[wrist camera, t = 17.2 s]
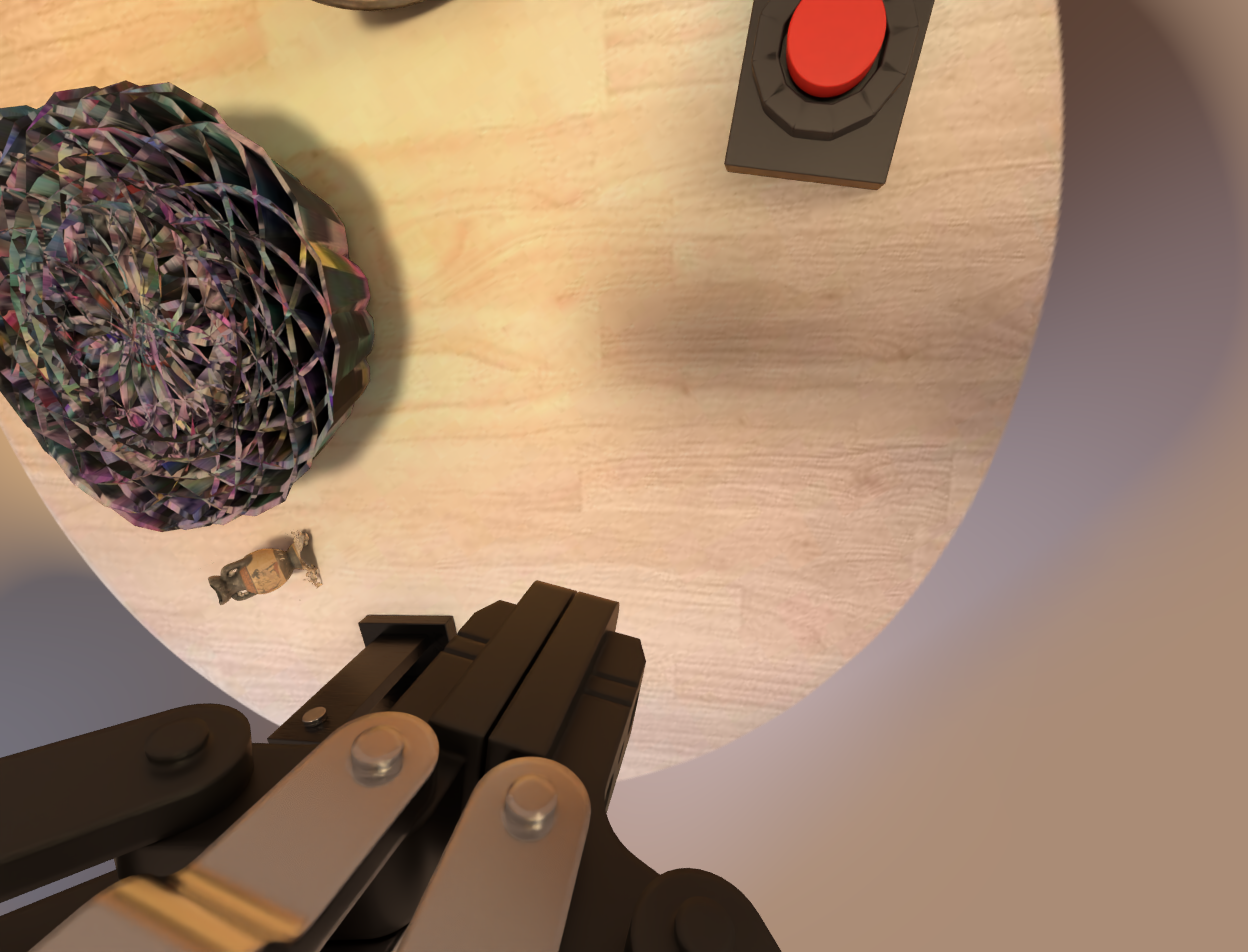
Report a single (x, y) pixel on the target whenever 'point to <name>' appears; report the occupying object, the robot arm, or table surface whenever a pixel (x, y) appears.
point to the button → (833, 44)
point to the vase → (261, 572)
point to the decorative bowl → (171, 305)
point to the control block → (822, 104)
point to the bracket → (370, 675)
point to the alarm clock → (368, 4)
